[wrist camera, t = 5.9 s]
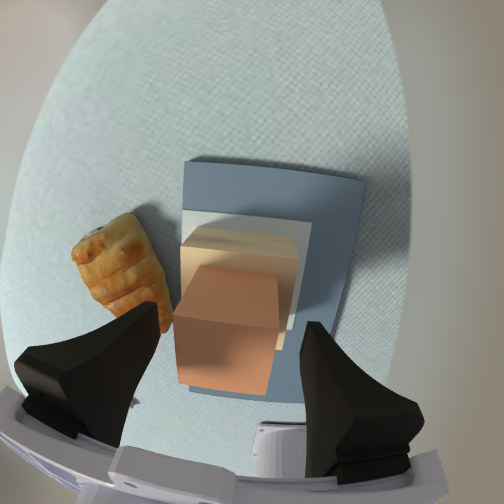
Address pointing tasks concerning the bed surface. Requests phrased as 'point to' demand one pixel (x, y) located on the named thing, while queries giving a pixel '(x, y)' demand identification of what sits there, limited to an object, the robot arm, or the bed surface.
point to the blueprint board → (287, 224)
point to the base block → (244, 260)
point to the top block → (227, 330)
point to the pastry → (123, 268)
